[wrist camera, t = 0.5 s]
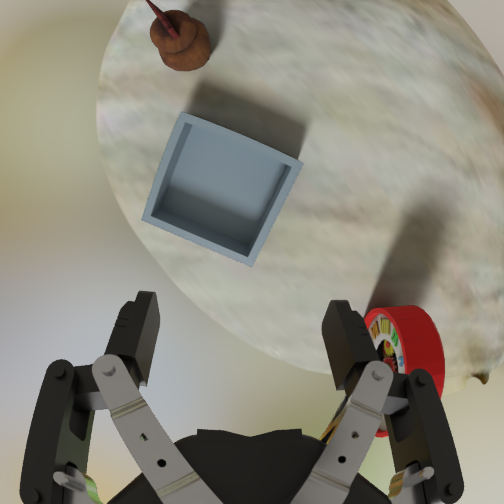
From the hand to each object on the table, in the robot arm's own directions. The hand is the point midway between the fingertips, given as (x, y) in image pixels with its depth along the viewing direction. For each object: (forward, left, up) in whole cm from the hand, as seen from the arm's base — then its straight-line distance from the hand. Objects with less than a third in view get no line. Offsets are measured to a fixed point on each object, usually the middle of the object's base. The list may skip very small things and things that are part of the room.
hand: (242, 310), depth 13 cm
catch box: (0, -4, -26) cm, 27 cm away
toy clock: (+12, +29, -27) cm, 41 cm away
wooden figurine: (-15, -15, -27) cm, 34 cm away
